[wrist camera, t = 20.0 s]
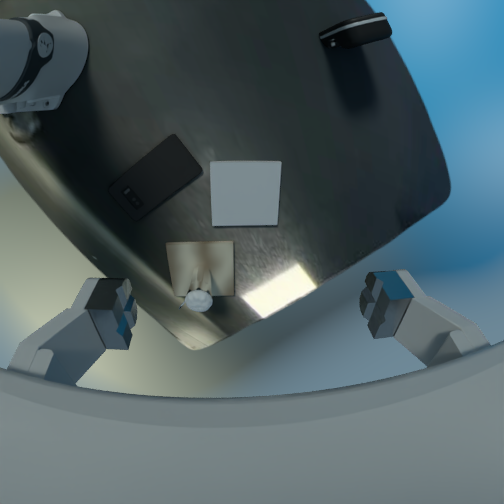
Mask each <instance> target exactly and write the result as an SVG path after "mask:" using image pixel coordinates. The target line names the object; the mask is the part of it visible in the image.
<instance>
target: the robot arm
mask: <svg viewBox="0 0 504 504" xmlns="http://www.w3.org/2000/svg"><path fill="white" fill-rule="evenodd" d="M87 54H88V38H87V35H86V32H85V30H84V29H83V27H82V26H81V25H80V24H79V23H77V22H76V21H73V20H70V19H67V18H66V17H65V16H64V15H63V13H62V12H61V11H59V10H54V11H52V12H50V13H48V14H31V15H30V16H29V17H27V18H26V17H19V18H11V19H0V114H8V113H15V112H26V111H41V110H55V109H57V108H58V107H59V105H60V103H61V101H62V99H63V96H64V94H65V93H66V91H67V90H68V89H69V88H70V87H71V86H72V85H73V83H74V82H75V81H76V80H77V78H78V77H79V75H80V73H81V72H82V69H83V67H84V65H85V62H86V59H87ZM48 102H49V105H48V104H47V103H48ZM365 283H366V285H367V287H366V288H365V289H364V290H363V291H362V292H361V295H360V310H361V313H362V315H363V317H365V318H366V319H367V320H369V322H368V328H369V330H370V332H371V334H372V336H373V338H374V339H378V338H386V337H392V336H394V338H395V339H396V340H397V341H398V342H400V343H401V344H402V345H403V346H404V347H405V348H407V349H408V350H409V351H410V352H411V353H412V354H413V355H415V356H416V357H417V358H418V359H419V360H420V361H422V362H423V363H424V364H425V365H426V366H427V368H425V369H421V370H418V371H414V372H410V373H406V374H402V375H398V376H394V377H390V378H386V379H381V380H377V381H372V382H367V383H362V384H356V385H351V386H346V387H340V388H334V389H326V390H319V391H312V392H304V393H295V394H285V395H272V396H258V397H237V398H236V397H235V398H183V397H162V396H147V395H136V394H126V393H118V392H109V391H102V390H95V389H89V388H82V387H77V385H76V384H75V383H76V382H77V381H78V380H79V379H80V378H81V377H82V376H83V375H84V373H85V372H86V371H87V370H88V369H89V368H90V367H91V366H92V365H93V363H95V361H96V360H97V359H98V358H99V357H100V356H101V355H102V354H103V353H104V352H105V350H106V349H120V350H128V349H129V345H130V341H131V338H132V333H131V330H130V329H131V328H132V327H133V326H135V324H136V320H137V305H136V301H135V298H134V297H132V296H131V295H130V292H131V289H132V287H131V284H130V281H129V280H128V279H123V278H88V279H87V280H86V281H85V283H84V284H83V286H82V288H81V290H80V292H79V293H78V295H77V297H76V299H75V301H74V303H73V305H72V307H71V309H65V310H64V311H63V312H61V313H60V314H58V315H57V316H56V317H54V318H53V319H51V320H50V321H49V322H47V323H46V324H45V325H43V326H42V327H41V328H39V329H38V330H36V331H35V332H34V333H32V334H31V335H30V336H28V337H27V338H26V339H24V340H23V341H22V342H20V344H19V346H18V347H17V349H16V352H15V354H14V356H13V358H12V360H11V362H10V364H9V366H8V368H7V370H6V369H3V368H0V504H504V341H502V342H499V343H497V344H495V345H492V346H491V345H490V344H489V342H488V340H487V339H486V337H485V336H484V334H483V333H482V331H481V330H480V328H479V327H478V326H477V324H476V323H474V322H472V321H471V320H469V319H467V318H466V317H464V316H462V315H461V314H459V313H457V312H456V311H454V310H452V309H451V308H449V307H447V306H446V305H444V304H442V303H440V302H439V301H437V300H435V299H434V298H432V297H430V296H426V295H425V294H424V292H423V291H422V290H421V288H420V287H419V286H418V284H417V283H416V282H415V280H414V279H413V278H412V276H411V275H410V274H409V272H408V271H406V270H405V269H402V270H393V271H381V272H369V273H368V275H367V276H366V279H365Z"/></svg>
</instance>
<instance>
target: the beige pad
mask: <svg viewBox="0 0 504 504" xmlns="http://www.w3.org/2000/svg"><path fill="white" fill-rule="evenodd" d="M166 250H167V256H168V262H169V269H170V274H171V280H172V286H173V291H174V296H186V294H187V291H188V288H189V285H190V281H191V277H192V273H193V270H194V268H195V267H197V266H199V265H201V266H206V267H207V268H209V270H210V274H211V291H212V296H231V295H234V262H233V241H211V242H170V243H166Z"/></svg>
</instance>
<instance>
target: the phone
mask: <svg viewBox="0 0 504 504" xmlns="http://www.w3.org/2000/svg"><path fill="white" fill-rule="evenodd" d="M201 172H202V168H201V166H200V165H199V164H198V163H197V161H196V160H195V159H194V157H193V156H192V155H191V154H190V152H189V151H188V150H187V148H186V147H185V146H184V145H183V143H182V142H181V141H180V140H179V138H178V137H177V136H176V135H175V134H172V135H170V136H169V137H168V138H166V139H165V140H164V141H163V142H161V143H160V144H159V145H158V146H156V147H155V148H154V149H153V150H151V151H150V152H149V153H148V154H147V155H145V156H144V157H143V158H142V159H141V160H140V161H138V162H137V163H136V164H135V165H134V166H133V167H132V168H130V169H129V170H128V171H127V172H126V173H125V174H124V175H123V176H121V177H120V178H119V179H118V180H117V181H116V182H115V183H114V184H113V185H112V186H111V187H110V188H109V189H108V192H109V193H110V194H111V195H112V197H113V198H114V199H115V200H116V201H117V202H118V203H119V205H120V206H121V207H122V208H123V209H124V210H125V211H126V212H127V214H128V215H129V216H130V217H131V218H132V219H133V220H134V221H138V220H140V219H141V218H142V217H143V216H145V215H146V214H147V213H148V212H150V211H151V210H152V209H153V208H155V207H156V206H157V205H158V204H160V203H161V202H162V201H164V200H165V199H166V198H168V197H169V196H170V195H172V194H173V193H174V192H176V191H177V190H178V189H180V188H181V187H182V186H184V185H185V184H186V183H188V182H189V181H190V180H192V179H193V178H195V177H196V176H197V175H199V174H200V173H201Z"/></svg>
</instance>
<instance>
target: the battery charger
mask: <svg viewBox="0 0 504 504" xmlns="http://www.w3.org/2000/svg"><path fill="white" fill-rule="evenodd" d="M391 35H392V29H391V27H390V25H389V23H388V21H387V17H386V16H385V15H384V13H382V12H380V13H374V14H369V15H365V16H360V17H356V18H352V19H348V20H345V21H343V22H340V23H338V24H336V25H334V26H332V27H330V28H328V29H326V30H324V31H322V32H320V33H319V36H320V39H321V40H322V42H323V43H324V44H325V46H326V47H328V48H336V47H339V46H341V47H342V48H347V49H349V48H354V47H357V46H361V45H364V44H368V43H372V42H375V41H379V40H383V39H386V38H389V37H390V36H391Z"/></svg>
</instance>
